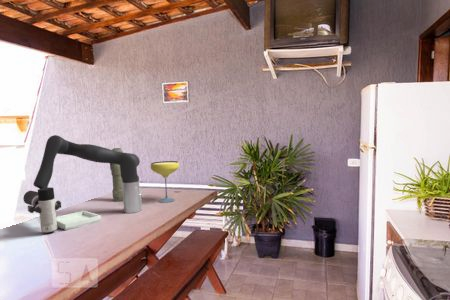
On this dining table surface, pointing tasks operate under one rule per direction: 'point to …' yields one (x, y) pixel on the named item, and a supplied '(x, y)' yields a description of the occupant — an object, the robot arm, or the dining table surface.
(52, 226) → the spray can
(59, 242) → the dining table surface
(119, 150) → the olive green statue
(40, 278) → the dining table surface
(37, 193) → the robot arm
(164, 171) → the cocktail glass
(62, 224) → the sage tray
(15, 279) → the dining table surface
